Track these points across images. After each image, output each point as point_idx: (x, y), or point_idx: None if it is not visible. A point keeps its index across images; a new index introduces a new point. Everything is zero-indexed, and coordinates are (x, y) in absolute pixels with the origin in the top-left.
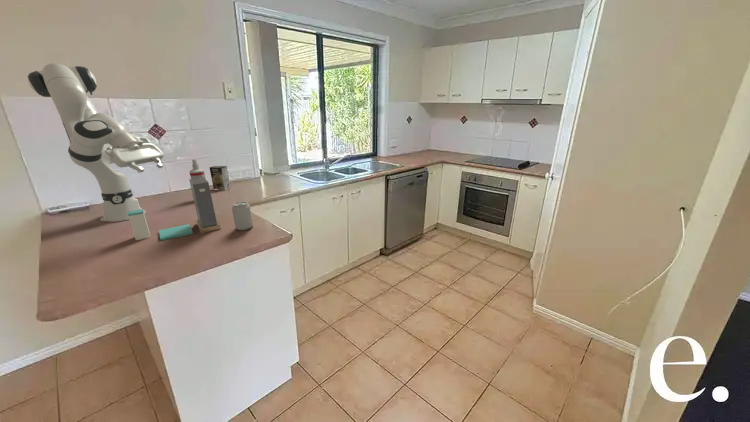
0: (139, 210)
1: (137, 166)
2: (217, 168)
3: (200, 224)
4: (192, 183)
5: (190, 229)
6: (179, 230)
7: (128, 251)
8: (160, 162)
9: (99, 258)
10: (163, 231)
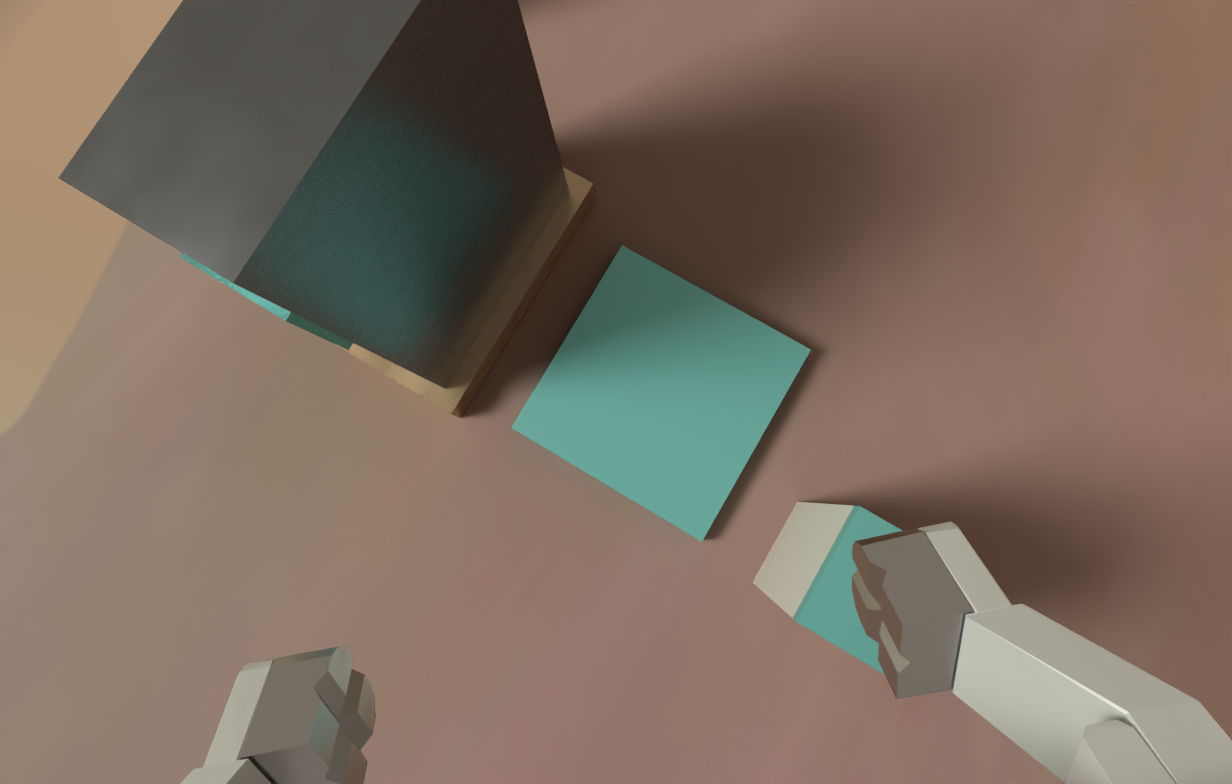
0: (846, 598)
1: (1028, 618)
2: None
3: (518, 274)
4: None
5: (597, 299)
6: (644, 365)
7: (1017, 382)
8: (201, 769)
9: (1169, 453)
10: (706, 472)
